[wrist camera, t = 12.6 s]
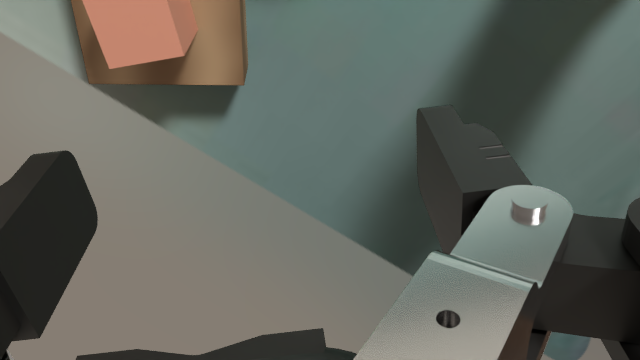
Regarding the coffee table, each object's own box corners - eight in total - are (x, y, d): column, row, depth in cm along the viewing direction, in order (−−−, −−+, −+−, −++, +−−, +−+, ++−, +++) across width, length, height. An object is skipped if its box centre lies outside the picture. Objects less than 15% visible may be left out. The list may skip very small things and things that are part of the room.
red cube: (177, -42, 36) (159, -25, 31) (198, 29, 39) (184, 56, 34) (108, -29, 36) (78, -10, 31) (133, 41, 39) (109, 69, 34)
